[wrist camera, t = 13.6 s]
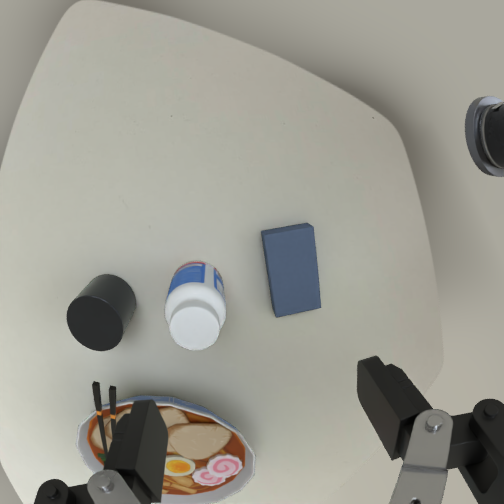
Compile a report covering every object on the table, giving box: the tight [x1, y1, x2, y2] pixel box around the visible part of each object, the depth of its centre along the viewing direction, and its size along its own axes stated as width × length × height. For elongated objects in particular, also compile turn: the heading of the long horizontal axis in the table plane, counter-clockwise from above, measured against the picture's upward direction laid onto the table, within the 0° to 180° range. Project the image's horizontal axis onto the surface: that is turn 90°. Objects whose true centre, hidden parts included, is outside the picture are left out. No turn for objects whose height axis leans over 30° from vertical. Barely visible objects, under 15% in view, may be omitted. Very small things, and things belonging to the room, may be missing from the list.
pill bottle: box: [164, 261, 226, 350], centre depth 29 cm, size 6×5×10 cm
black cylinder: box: [67, 274, 136, 351], centre depth 30 cm, size 6×6×6 cm
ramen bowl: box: [76, 381, 256, 504], centre depth 35 cm, size 25×23×8 cm
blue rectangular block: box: [261, 223, 321, 317], centre depth 34 cm, size 9×5×2 cm, turn 9°
